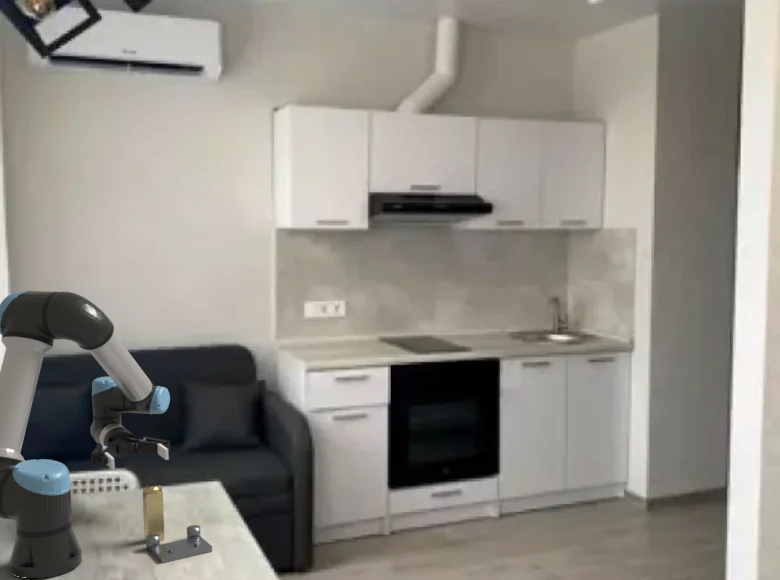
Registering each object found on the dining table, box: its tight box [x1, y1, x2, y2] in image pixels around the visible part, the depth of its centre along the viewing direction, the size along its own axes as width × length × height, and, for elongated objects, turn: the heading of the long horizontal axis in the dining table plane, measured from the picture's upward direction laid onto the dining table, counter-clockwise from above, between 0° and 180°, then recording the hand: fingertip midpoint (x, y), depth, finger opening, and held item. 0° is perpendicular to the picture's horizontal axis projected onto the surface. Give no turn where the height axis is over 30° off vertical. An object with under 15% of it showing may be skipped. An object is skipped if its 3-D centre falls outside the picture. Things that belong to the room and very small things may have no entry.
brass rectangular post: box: [142, 484, 165, 542], centre depth 206 cm, size 4×3×13 cm
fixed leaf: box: [145, 524, 213, 564], centre depth 200 cm, size 13×11×3 cm
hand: (140, 459), depth 214 cm, fingers open, 13 cm apart
